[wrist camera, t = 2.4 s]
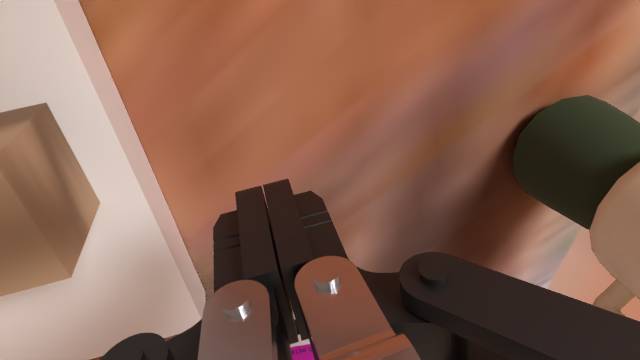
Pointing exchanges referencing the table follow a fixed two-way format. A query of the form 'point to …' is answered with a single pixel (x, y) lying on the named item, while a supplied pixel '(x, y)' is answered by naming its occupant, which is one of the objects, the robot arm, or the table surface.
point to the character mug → (589, 182)
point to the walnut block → (40, 201)
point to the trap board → (112, 191)
